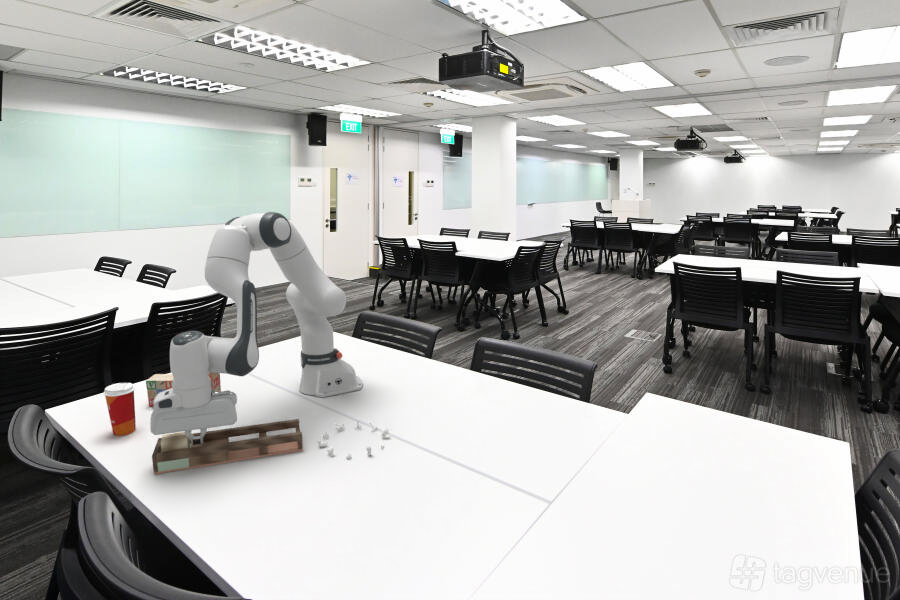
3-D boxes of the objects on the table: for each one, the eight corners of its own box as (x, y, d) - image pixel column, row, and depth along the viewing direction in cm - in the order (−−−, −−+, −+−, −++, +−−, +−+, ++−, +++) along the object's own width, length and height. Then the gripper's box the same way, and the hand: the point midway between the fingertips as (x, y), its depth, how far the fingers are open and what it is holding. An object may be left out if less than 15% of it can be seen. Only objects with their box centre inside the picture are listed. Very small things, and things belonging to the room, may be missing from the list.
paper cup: (118, 425, 154) (112, 382, 151) (144, 425, 154) (139, 381, 152) (103, 438, 146) (96, 392, 143) (131, 437, 147) (125, 391, 144)
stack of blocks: (148, 407, 167) (144, 371, 165) (157, 399, 174) (154, 365, 171) (215, 406, 169) (211, 371, 166) (222, 399, 175) (219, 364, 172)
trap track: (299, 434, 150) (298, 418, 149) (302, 450, 141) (301, 433, 140) (160, 455, 137) (158, 438, 136) (154, 474, 128) (151, 456, 127)
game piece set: (390, 427, 156) (390, 416, 155) (384, 461, 136) (384, 448, 136) (326, 428, 155) (325, 416, 154) (311, 462, 136) (310, 448, 135)
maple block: (190, 445, 137) (188, 431, 136) (188, 453, 132) (186, 439, 131) (164, 448, 135) (163, 434, 134) (162, 458, 130) (160, 443, 129)
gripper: (236, 385, 139) (239, 432, 142) (150, 394, 131) (156, 444, 134) (235, 393, 133) (239, 442, 136) (146, 404, 126) (151, 455, 129)
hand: (197, 443), depth 135 cm, fingers closed
